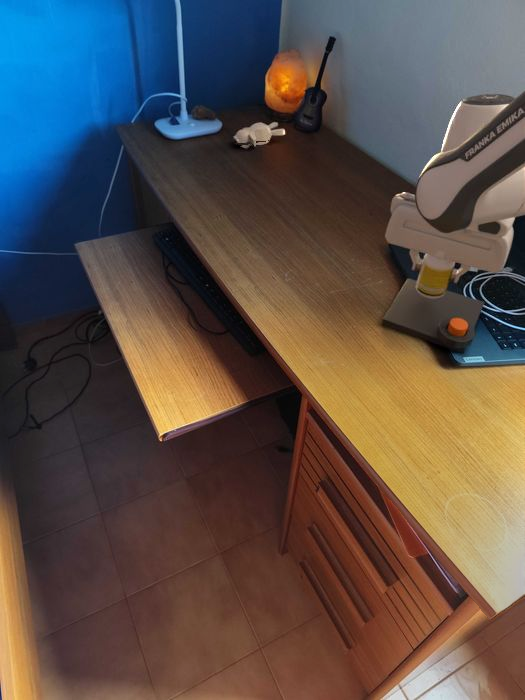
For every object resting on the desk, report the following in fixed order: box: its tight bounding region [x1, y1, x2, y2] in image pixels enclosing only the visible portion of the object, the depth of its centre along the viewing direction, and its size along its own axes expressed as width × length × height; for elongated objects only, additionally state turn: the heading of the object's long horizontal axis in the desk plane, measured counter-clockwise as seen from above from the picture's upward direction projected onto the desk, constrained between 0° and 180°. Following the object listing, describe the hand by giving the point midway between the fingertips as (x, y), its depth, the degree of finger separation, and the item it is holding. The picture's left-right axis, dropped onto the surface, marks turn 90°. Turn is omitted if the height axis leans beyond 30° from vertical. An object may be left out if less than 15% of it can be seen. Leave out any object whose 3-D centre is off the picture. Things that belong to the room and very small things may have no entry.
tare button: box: [447, 318, 468, 337], centre depth 80 cm, size 3×3×2 cm
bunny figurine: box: [233, 121, 286, 149], centre depth 142 cm, size 10×5×15 cm
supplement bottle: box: [416, 250, 456, 299], centre depth 83 cm, size 5×5×10 cm
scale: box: [381, 277, 486, 354], centre depth 86 cm, size 16×15×3 cm
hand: (435, 274), depth 84 cm, fingers closed on supplement bottle, 5 cm apart
